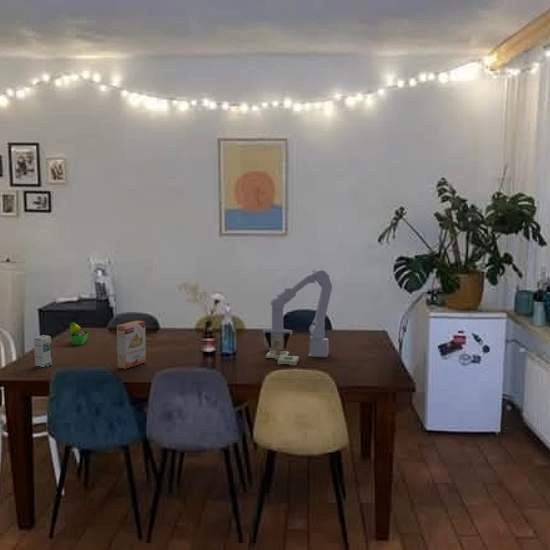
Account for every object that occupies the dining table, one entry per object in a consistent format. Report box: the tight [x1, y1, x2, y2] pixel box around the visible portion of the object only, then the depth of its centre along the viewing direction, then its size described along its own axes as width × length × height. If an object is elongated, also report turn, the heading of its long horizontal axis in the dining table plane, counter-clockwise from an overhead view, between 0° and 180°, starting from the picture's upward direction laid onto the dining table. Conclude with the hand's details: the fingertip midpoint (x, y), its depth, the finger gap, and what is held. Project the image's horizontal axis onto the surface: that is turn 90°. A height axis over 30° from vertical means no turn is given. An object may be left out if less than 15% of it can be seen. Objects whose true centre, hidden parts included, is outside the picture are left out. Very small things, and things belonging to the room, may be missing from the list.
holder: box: [277, 355, 300, 366], centre depth 335 cm, size 9×9×2 cm
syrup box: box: [33, 334, 53, 368], centre depth 330 cm, size 6×6×14 cm
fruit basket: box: [69, 322, 90, 346], centre depth 376 cm, size 11×9×11 cm
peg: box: [275, 340, 281, 355], centre depth 345 cm, size 3×3×8 cm
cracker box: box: [116, 320, 147, 370], centre depth 329 cm, size 14×6×21 cm, turn 148°
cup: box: [263, 333, 283, 351], centre depth 359 cm, size 7×10×9 cm
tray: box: [265, 350, 290, 360], centre depth 345 cm, size 10×9×2 cm
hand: (277, 347), depth 345 cm, fingers open, 7 cm apart
